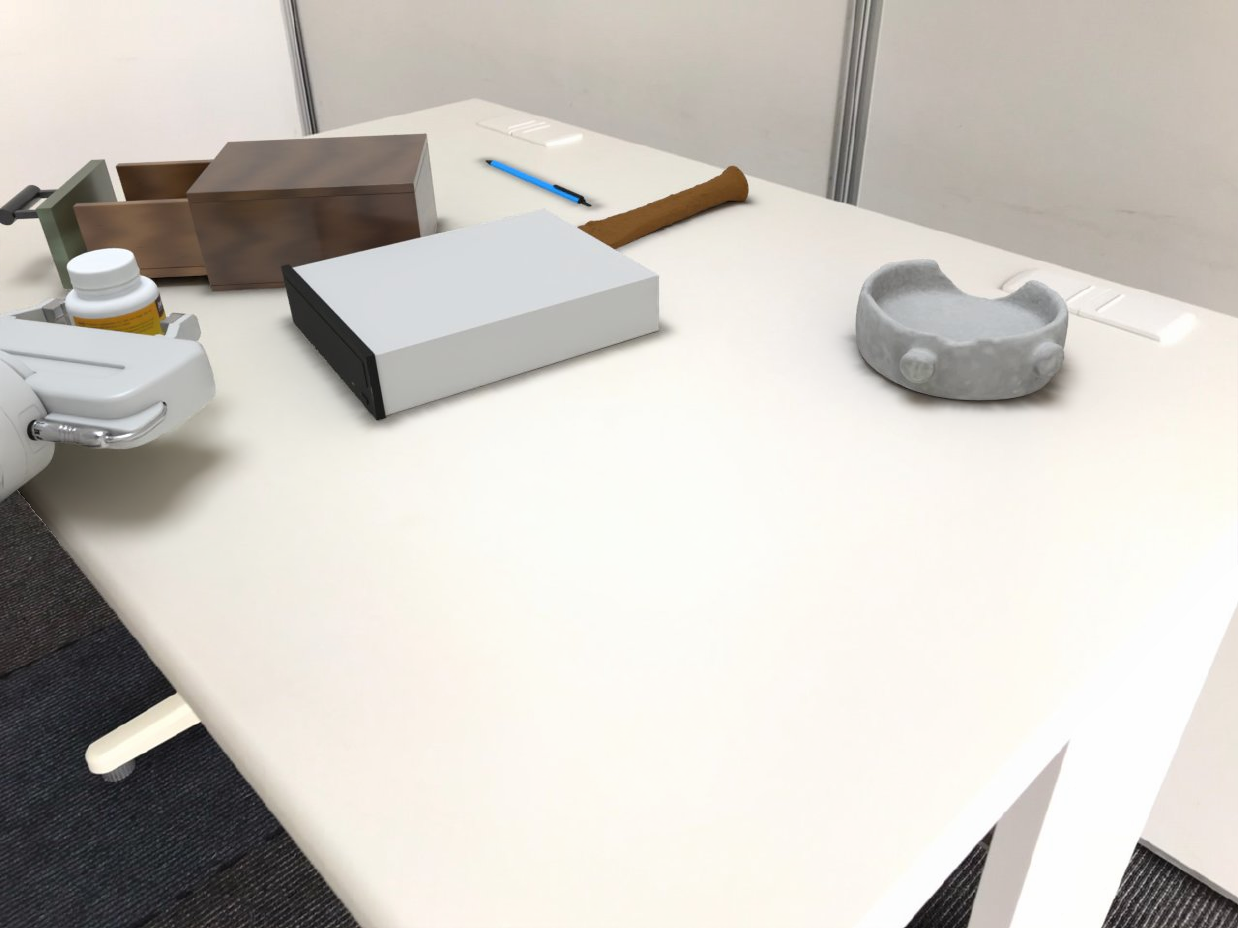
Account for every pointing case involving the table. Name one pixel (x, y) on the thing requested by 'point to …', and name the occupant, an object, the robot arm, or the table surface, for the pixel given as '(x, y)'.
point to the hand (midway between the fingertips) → (127, 316)
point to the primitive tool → (669, 209)
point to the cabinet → (308, 203)
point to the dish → (959, 334)
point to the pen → (540, 183)
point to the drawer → (119, 216)
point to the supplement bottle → (113, 294)
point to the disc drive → (468, 307)
